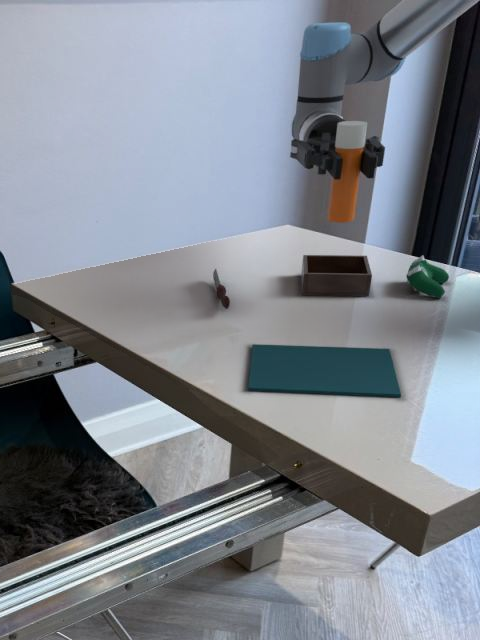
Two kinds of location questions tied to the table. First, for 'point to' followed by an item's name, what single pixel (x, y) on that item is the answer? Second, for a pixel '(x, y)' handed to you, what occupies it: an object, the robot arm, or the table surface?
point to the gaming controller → (427, 278)
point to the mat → (323, 370)
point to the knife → (220, 291)
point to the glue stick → (347, 170)
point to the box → (336, 275)
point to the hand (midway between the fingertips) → (355, 168)
